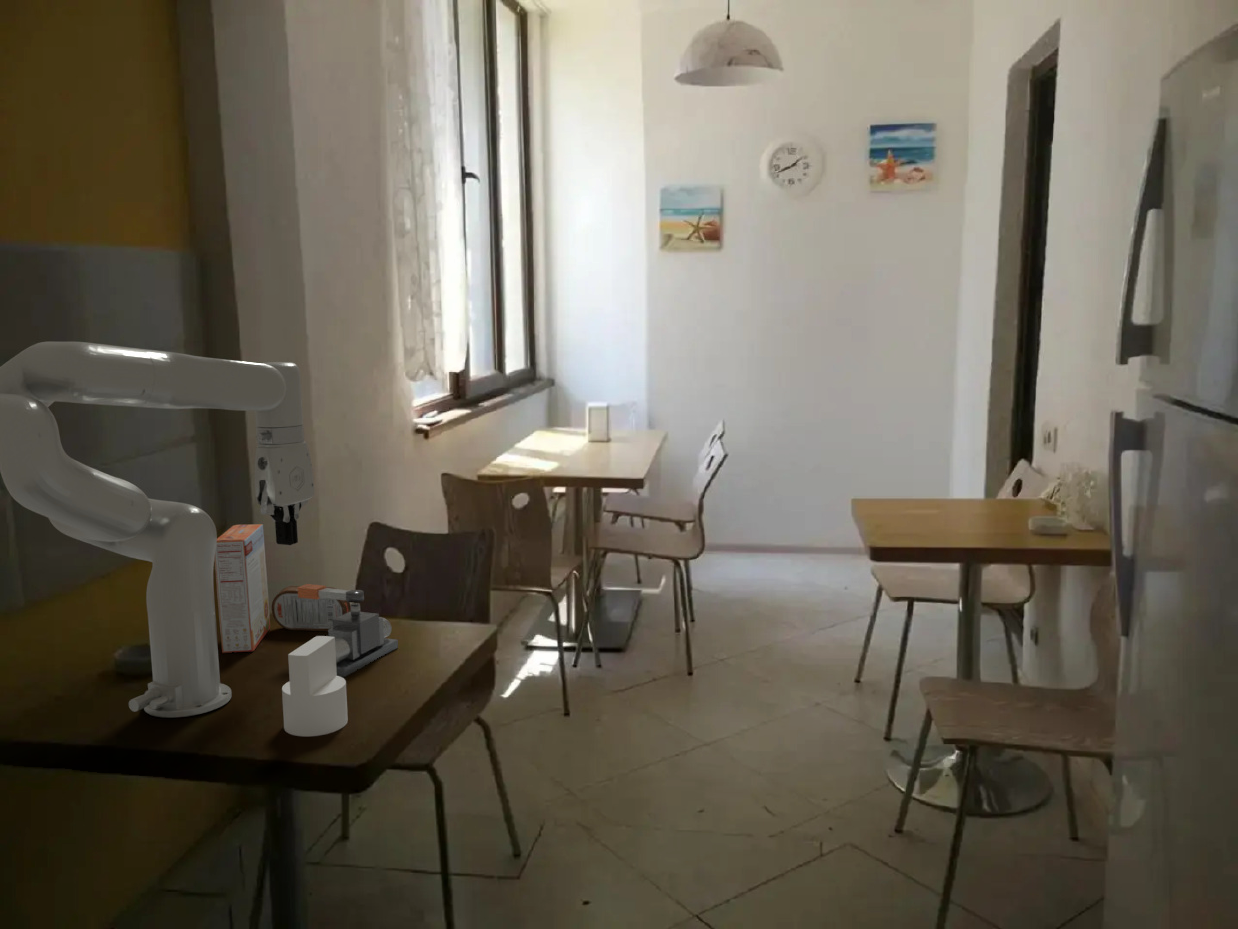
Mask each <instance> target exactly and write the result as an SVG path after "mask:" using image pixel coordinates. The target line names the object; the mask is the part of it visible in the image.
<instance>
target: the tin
mask: <svg viewBox="0 0 1238 929" xmlns="http://www.w3.org/2000/svg"><path fill="white" fill-rule="evenodd" d="M300 586H301V585H290V586H287V587H285V588H283V589H281V590H280V591H279V593H278V594H277V595H275V596H274V598H273V599H272V601H271V602H272V603H271V613H272V617H273V619H274V620H275V622H276V623H277V624H278V625H279V626H280V627H282V628H283V629H285V630H289V631H305V632H306V631H308V632H309V631H311V632H313V631H314V632H328V630H329V629H331V628H333V619H335V618H337V617H339V616H342V615H344V614H346V613H348V612H351V602H347V601H346V600H338V599H329V598H319V599H308V598H299V597H298V587H300ZM326 588H331V589H337V588H335V587H332V586H326Z"/></svg>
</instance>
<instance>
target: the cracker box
mask: <svg viewBox="0 0 1238 929" xmlns="http://www.w3.org/2000/svg"><path fill="white" fill-rule="evenodd" d="M264 535H265V534H264V524H260V523H257V524H256V523H255V524H235V525H234V524H233V525H232V526H230V528H228V529H227V530H226V531H225V532H223V533H222V534H221V535H220V536H218V537H217V543H216V551H215V557H214V570H215V572H214V573H215V580H216V581H215V583H216V593H217V594H216V596H217V606H218V618H219V619H218V620H219V628H220V629H219V630H220V632H219V633H220V640H221V642H220V644H221V652H222V654H231V653H232V652H234V653H244V652H245V653H246V652H254V651H255V649H256V648H257V647H258V646H259V644H260V643H261V641H262V640H263V639H264V637H265V636H266V635H267V633H268V632H269V630H270V629H271V621H270V620H271V616H270V614H271V613H270V605H269V604H270V603H269V601H270V600H269V591H268V576H267V565H266V564H267V562H266V550H265V549H266V548H265V536H264ZM232 654H233V653H232Z"/></svg>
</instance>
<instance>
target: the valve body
mask: <svg viewBox="0 0 1238 929" xmlns="http://www.w3.org/2000/svg"><path fill="white" fill-rule="evenodd" d="M350 606H351V612H348V613H346V614H344V615H342V616H339V617H337V618H335V619H333V628H331V629H329V630H328V631H327V632H328V633H327V634H328V636H330V637H335V651H336V671H337V676H340V677H342V678H344V677H347V676H350V675H351V674H352V673H354V672H357V671H358V670H359V669H362V668H364V667H365V665H366V666H367V665H369V664H371V663H372V662H373V663H374V660H375V661H377V660H378V659H380V658H382V657H384V656H385V654H386V655H388V654H389V653H392V652H393V651H395V650H396V649H398V647H399V640H398V639H396V638H395V639H394V638H393V639H392V638H387V637H389V636H390V635H391V634H392V633H391V632H392V624H391V622H390V621H389V620H388V619H386V618H385V617H382V616H380V614H379V613H376V612H375V613H374V612H365V611H361V603H360V602H352V603H350ZM381 656H382V657H381ZM379 657H380V658H379ZM377 658H378V659H377ZM370 662H371V663H370ZM357 669H358V670H357Z"/></svg>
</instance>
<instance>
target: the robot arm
mask: <svg viewBox="0 0 1238 929" xmlns="http://www.w3.org/2000/svg"><path fill="white" fill-rule="evenodd" d="M301 381H302V380H301V370H300V367H299V366H298V365H297V364H296V363H294V362H291V361H287V362H286V361H276V362H275V361H274V362H271V361H270V362H269V361H268V362H261V363H259V362H252V361H243V360H232V359H223V358H215V357H205V356H197V355H193V354H192V355H191V354H186V353H180V352H174V351H166V350H165V351H163V350H156V349H146V348H137V347H128V346H120V345H111V344H103V343H94V342H86V341H85V342H84V341H42V342H38V343H35V344H32V345H30V346H28V347H27V348H25V349H24V350H22V351H20V352H19V353H18V354H16V355H15V356H13V357H12V358H10V359H9V360H8V361H6V362H4V364H2V365H1V366H0V474H1V478H2V480H3V483H4V485H5V487H6V490H7V491H8V492H9V494H10V496H11V497H12V498H13V500H14V501H16V502H17V503H18V504H20V505H21V507H23V508H24V509H25V508H26V509H27V510H29V511H31V512H34V513H36V514H38V515H40V516H42V517H46V518H47V519H48V520H49V522H50V523H51V524H52V526H53V527H54V528H55V529H56V530H58V531H59V532H60V533H62V534H63V535H66V536H67V537H70V538H72V539H76V540H78V541H81V542H84V543H87V544H90V545H92V546H95V547H98V548H101V549H104V550H107V551H109V552H113V553H116V554H119V555H121V556H125V557H127V558H133V559H137V560H142V561H147V562H150V563H152V568H151V572H150V575H149V578H148V581H147V586H146V599H145V600H146V612H147V621H148V623H147V624H148V633H149V634H148V635H149V645H150V658H151V659H150V660H151V671H152V672H151V673H152V681H151V682H148V683H147V688H148V689H147V690H145V692H144V693H143V694H142V695H139V696H136V697H134V698H132V699H129V701H128V707H129V709H130V710H131V711H132V712H133V713H134V712H138V711H140V710H142V709H143V710H144V712H145V713H147V714H149V715H150V716H153V717H158V718H169V719H170V718H185V717H191V716H196V715H202V714H206V713H208V712H212V711H214V710H217V709H218V708H219V709H220V708H221V707H223V706H225V705H226V704H228V703H229V701H230V700H231V698H232V689H231V687H229V686H228V685H226V684H224V683H221V678H220V662H219V649H218V634H217V618H216V617H217V616H216V607H215V606H216V604H215V591H214V590H215V589H214V588H215V587H214V568H215V561H214V557H215V551H216V543H217V538H218V537H217V536H218V535H217V533H218V532H217V528H216V524H215V523H214V521H213V519H212V518H211V517H210V515H209V514H208V513H207V512H205V510H203V509H201V508H199V507H197V506H195V505H192V504H189V503H186V502H185V503H184V502H177V501H170V500H169V501H168V500H163V499H162V500H161V499H153V498H149V497H148V496H147V494H145V492H144V491H143V490H142V489H141V488H139V487H138V486H136V485H135V484H133V483H131V482H129V481H127V480H125V479H122V478H120V477H117V476H113V475H110V474H107V473H105V472H102V471H100V470H98V469H96V468H93V467H90V466H89V465H86V464H84V463H82V462H80V461H78V460H75V458H72V457H70V456H69V455H68V454H67V453H66V451H65V450H64V448H63V445H62V443H61V442H62V440H61V436H60V429H59V426H58V423H57V420H56V418H55V416H54V414H53V412H52V411H51V410H50V408H49V407H50V406H51V405H53V404H54V402H61V403H73V404H74V403H75V404H83V405H84V404H86V405H87V404H88V405H102V406H116V407H117V406H119V407H121V406H122V407H135V408H150V409H167V410H181V409H182V410H185V409H214V410H215V409H218V410H226V411H227V410H228V411H247V412H254V416H255V428H256V429H255V431H256V434H255V438H256V449H255V458H254V492H255V494H254V495H255V500H256V502H257V504H258V505H259V506H260V514H261V515H269V516H270V517H271V520H272V522H274V524H275V525H274V526H275V527H274V528H275V539H276V540H275V541H276V544H277V545H281V546H282V545H284V546H292V545H295V544H297V543H298V540H299V539H298V525H297V524H298V523H297V520H299V517H300V511H301V508H302V507H304V506H305V505H307V504H308V502H309V500H310V499H312V498H313V497H314V495H315V481H314V479H315V478H314V471H313V464H312V463H313V462H312V459H311V454H310V450H309V447H308V446H309V445H308V442H306V441H305V432H304V414H303V397H302V382H301Z"/></svg>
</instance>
